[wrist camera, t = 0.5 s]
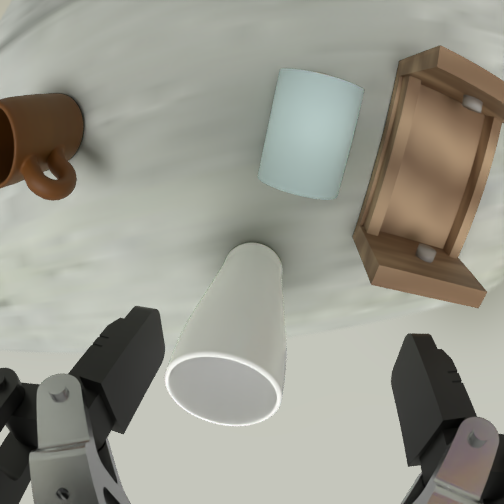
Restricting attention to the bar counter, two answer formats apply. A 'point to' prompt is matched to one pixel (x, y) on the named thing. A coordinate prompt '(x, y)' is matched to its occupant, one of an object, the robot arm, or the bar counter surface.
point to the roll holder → (430, 176)
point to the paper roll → (309, 133)
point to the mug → (40, 142)
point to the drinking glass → (234, 343)
